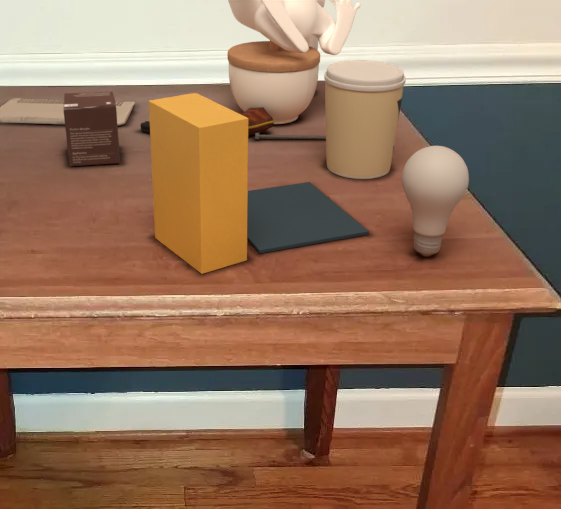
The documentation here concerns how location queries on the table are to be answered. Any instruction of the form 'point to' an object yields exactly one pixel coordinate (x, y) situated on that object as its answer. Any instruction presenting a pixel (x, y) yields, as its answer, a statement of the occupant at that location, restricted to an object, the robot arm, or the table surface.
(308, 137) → the screw
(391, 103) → the coffee cup
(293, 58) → the lidded bowl
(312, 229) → the slate mat
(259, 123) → the toy gun
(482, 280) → the table surface
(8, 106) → the grooming comb
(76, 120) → the box
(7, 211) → the table surface
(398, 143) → the table surface
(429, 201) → the lightbulb
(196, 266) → the cereal box
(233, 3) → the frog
